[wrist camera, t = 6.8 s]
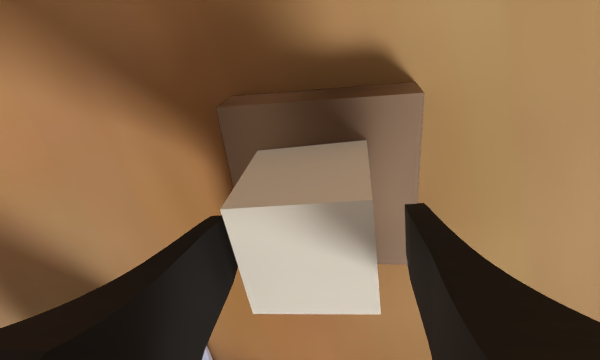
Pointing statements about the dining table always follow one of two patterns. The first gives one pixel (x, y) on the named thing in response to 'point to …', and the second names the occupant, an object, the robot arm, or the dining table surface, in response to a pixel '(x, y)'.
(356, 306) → the cream cube
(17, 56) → the dining table surface
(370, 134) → the walnut base
